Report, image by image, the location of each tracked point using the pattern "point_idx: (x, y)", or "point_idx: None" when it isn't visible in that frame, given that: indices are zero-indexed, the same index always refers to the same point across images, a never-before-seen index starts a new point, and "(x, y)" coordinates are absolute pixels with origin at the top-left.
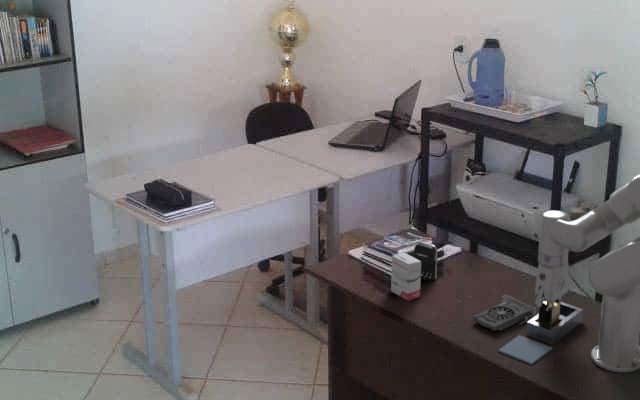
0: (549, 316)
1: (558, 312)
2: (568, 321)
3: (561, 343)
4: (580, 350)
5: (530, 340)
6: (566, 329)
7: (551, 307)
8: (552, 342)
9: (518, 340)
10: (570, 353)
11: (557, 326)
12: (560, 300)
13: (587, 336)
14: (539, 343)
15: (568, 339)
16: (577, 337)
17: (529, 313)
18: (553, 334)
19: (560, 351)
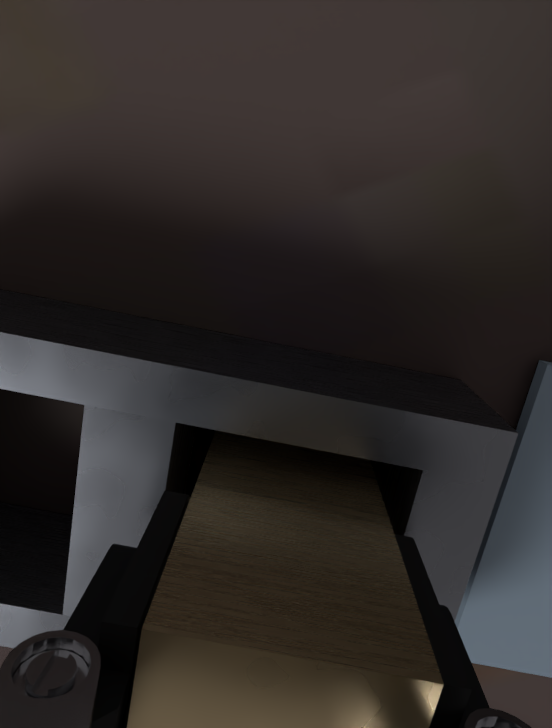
0: (435, 607)
1: (218, 532)
2: (154, 357)
3: (396, 317)
4: (449, 107)
5: (500, 560)
6: (207, 343)
7: (383, 716)
8: (467, 389)
9: (537, 636)
10: (548, 181)
11: (369, 430)
12: (32, 665)
13: (141, 132)
14: (517, 482)
15: (293, 283)
16: (212, 217)
17: None
18: (500, 417)
19: (547, 279)
